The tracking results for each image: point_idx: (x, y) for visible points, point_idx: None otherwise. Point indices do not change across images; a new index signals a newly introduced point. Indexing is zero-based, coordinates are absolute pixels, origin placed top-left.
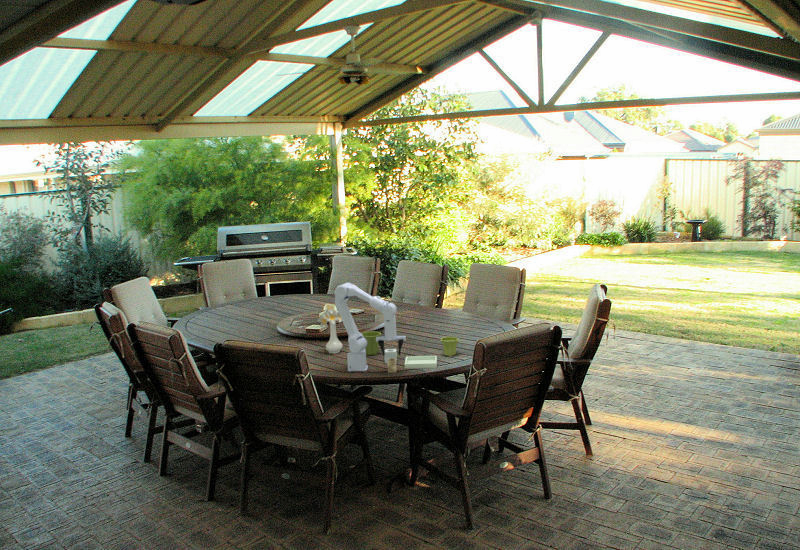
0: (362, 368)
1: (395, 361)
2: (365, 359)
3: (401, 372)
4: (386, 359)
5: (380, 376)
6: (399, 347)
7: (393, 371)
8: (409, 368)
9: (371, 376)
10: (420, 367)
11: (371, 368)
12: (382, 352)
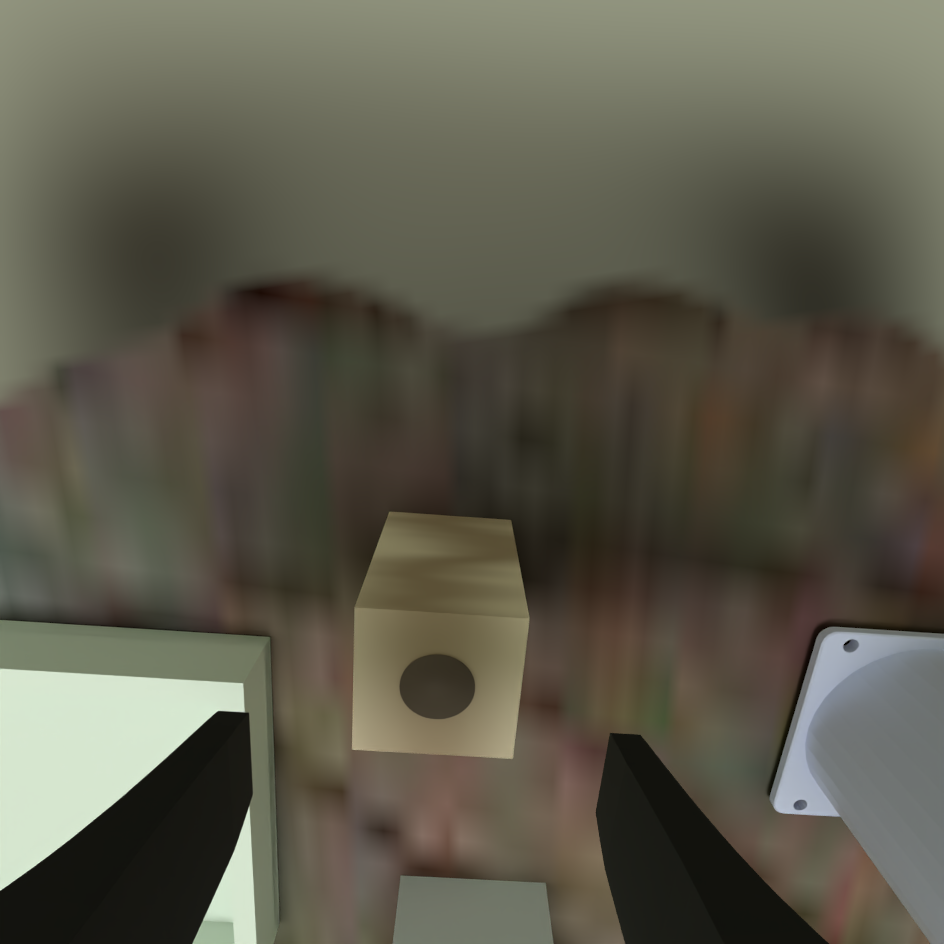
0: (889, 670)
1: (361, 598)
2: (918, 817)
3: (307, 494)
4: (526, 934)
5: (636, 343)
6: (61, 900)
7: (427, 519)
8: (199, 636)
9: (778, 366)
10: (29, 633)
11: (731, 724)
12: (690, 798)
